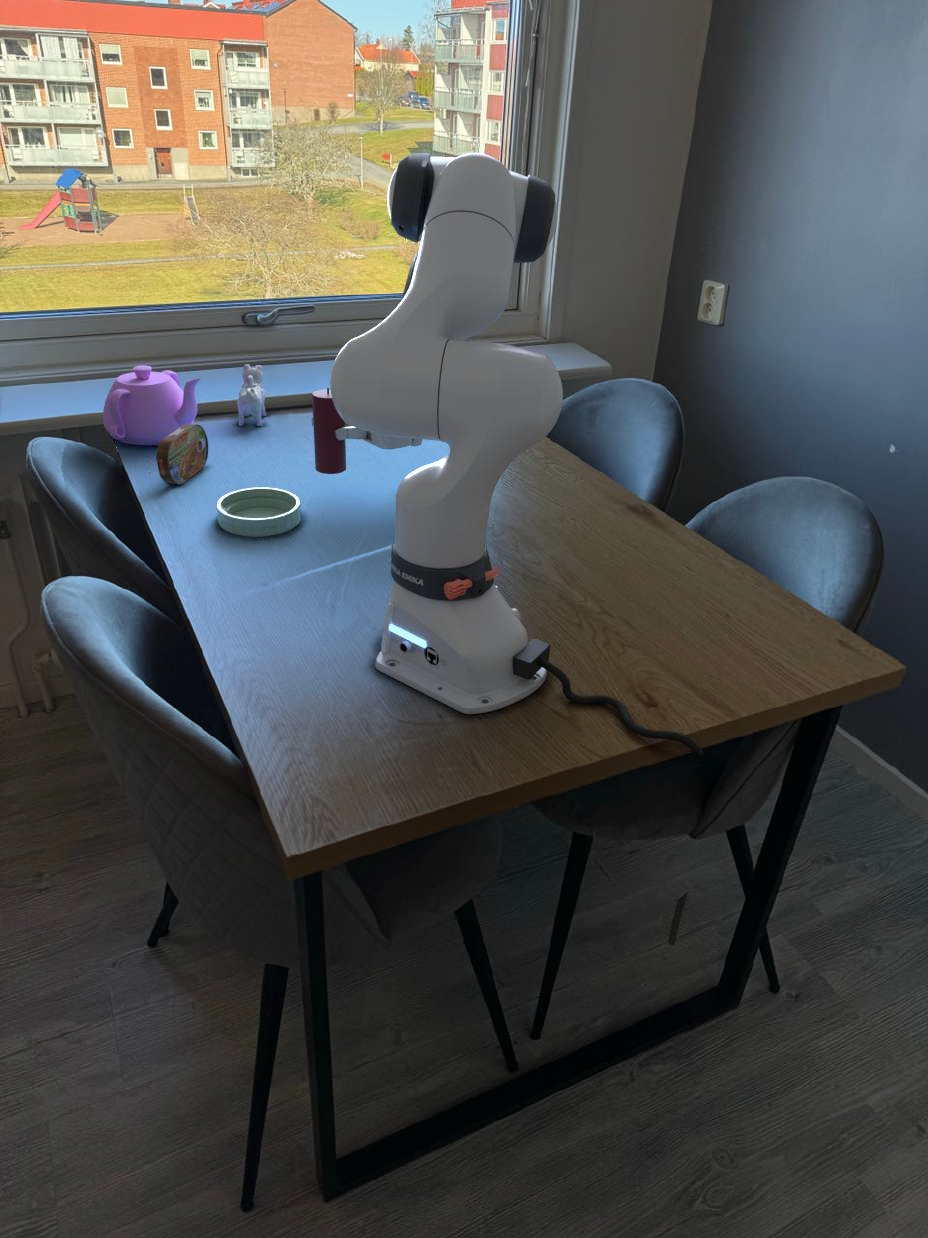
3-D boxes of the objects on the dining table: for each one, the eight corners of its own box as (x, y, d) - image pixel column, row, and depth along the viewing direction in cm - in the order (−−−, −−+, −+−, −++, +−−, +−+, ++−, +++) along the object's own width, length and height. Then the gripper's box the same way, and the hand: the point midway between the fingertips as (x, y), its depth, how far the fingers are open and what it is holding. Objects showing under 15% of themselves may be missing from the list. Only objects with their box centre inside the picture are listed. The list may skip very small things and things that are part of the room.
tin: (173, 491, 153) (167, 445, 149) (157, 489, 154) (150, 443, 149) (211, 462, 166) (207, 418, 162) (196, 460, 166) (191, 416, 162)
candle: (352, 469, 150) (350, 389, 142) (326, 476, 147) (323, 394, 139) (335, 460, 153) (332, 381, 146) (309, 467, 150) (305, 386, 143)
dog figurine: (268, 409, 195) (265, 360, 189) (263, 427, 184) (260, 376, 179) (243, 408, 194) (240, 360, 189) (237, 427, 183) (233, 376, 178)
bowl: (316, 525, 144) (315, 507, 143) (243, 545, 137) (242, 526, 135) (274, 498, 153) (273, 481, 151) (204, 516, 145) (202, 498, 143)
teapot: (175, 464, 164) (166, 390, 157) (78, 446, 170) (65, 374, 163) (238, 429, 182) (232, 362, 175) (148, 414, 188) (139, 348, 181)
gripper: (357, 381, 158) (290, 394, 150) (428, 411, 146) (359, 426, 137) (357, 415, 162) (292, 429, 154) (427, 448, 149) (360, 465, 141)
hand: (324, 428), depth 145 cm, fingers closed on candle, 5 cm apart
